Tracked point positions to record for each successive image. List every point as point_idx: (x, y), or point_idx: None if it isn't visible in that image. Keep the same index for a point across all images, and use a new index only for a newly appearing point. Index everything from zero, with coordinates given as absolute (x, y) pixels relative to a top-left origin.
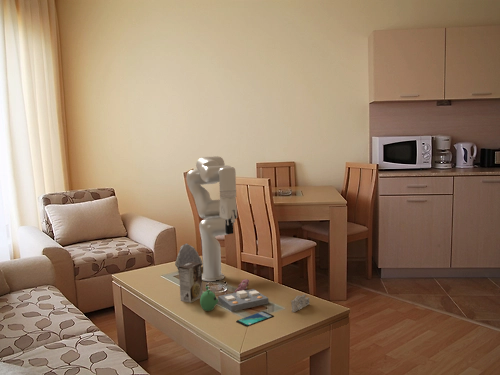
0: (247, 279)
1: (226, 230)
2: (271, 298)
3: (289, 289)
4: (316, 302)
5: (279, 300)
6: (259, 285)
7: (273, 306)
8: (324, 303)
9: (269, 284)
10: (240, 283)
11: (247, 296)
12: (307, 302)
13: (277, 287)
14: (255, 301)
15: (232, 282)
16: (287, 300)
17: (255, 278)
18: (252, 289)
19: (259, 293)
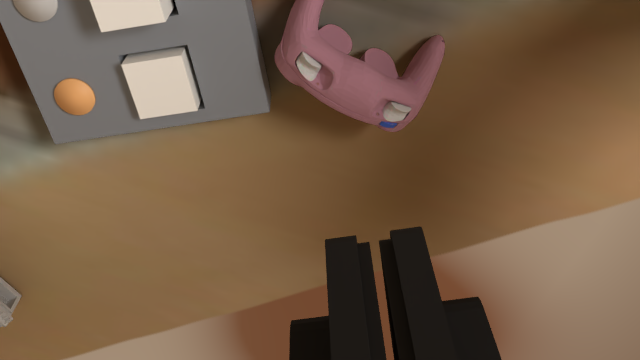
0: (383, 120)
1: (362, 300)
2: (154, 168)
3: (271, 293)
4: (35, 333)
5: (107, 196)
6: (421, 177)
7: (9, 135)
8: (14, 355)
9: None
10: (432, 61)
11: None
12: (3, 301)
13: None
14: (14, 47)
15: (592, 29)
16: (96, 232)
17: (568, 196)
18: (261, 102)
19: (159, 119)
